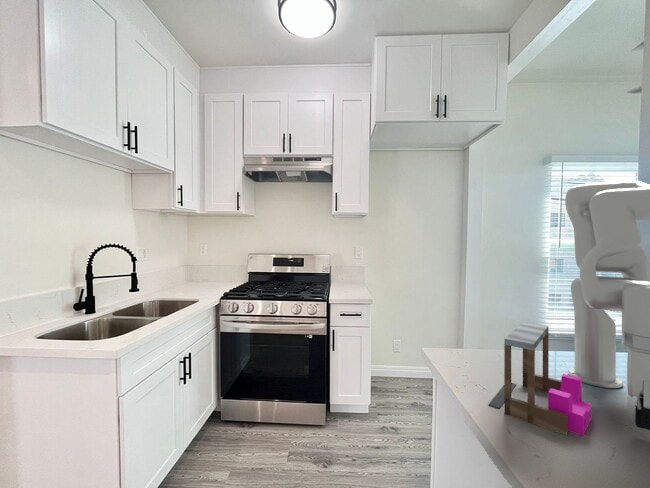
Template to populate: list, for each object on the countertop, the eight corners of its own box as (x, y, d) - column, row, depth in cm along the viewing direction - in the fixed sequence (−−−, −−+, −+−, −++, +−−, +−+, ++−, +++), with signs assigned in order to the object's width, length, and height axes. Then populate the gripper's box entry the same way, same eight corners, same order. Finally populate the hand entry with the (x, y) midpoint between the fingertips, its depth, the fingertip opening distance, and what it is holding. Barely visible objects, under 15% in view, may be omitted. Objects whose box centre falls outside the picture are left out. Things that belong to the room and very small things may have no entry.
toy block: (583, 436, 66) (582, 402, 66) (548, 424, 71) (548, 391, 71) (594, 411, 76) (594, 381, 76) (563, 402, 81) (563, 373, 81)
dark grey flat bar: (506, 382, 92) (506, 381, 92) (516, 385, 90) (516, 384, 90) (488, 405, 79) (488, 404, 79) (499, 409, 77) (499, 407, 77)
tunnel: (523, 384, 90) (523, 322, 90) (575, 398, 82) (575, 330, 82) (504, 414, 75) (504, 338, 75) (566, 435, 67) (566, 350, 67)
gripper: (621, 331, 74) (621, 407, 74) (622, 346, 63) (622, 436, 63) (667, 338, 69) (667, 420, 69) (677, 356, 58) (677, 453, 58)
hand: (646, 427), depth 66 cm, fingers closed
